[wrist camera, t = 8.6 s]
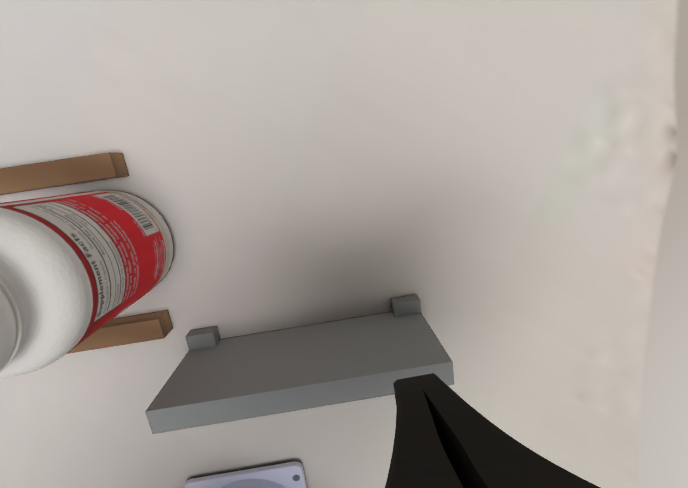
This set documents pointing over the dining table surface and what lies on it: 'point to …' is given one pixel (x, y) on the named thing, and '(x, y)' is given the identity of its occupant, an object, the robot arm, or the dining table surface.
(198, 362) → the slate screen
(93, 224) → the pill bottle
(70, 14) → the dining table surface
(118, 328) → the walnut bracket
